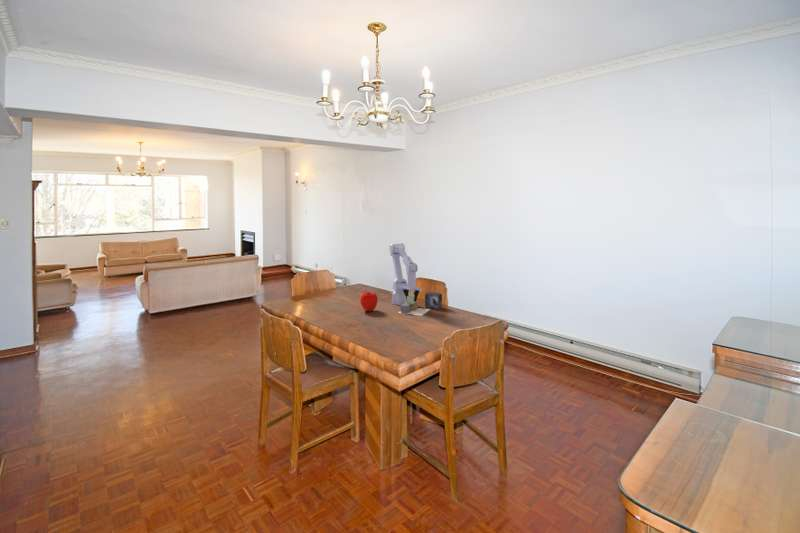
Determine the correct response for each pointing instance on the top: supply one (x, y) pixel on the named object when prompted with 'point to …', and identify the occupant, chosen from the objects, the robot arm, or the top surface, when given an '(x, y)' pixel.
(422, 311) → the grey mat
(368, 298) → the apple
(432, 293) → the picture frame
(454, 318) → the top surface
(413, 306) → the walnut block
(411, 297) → the sage block
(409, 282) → the robot arm
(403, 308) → the charcoal block
